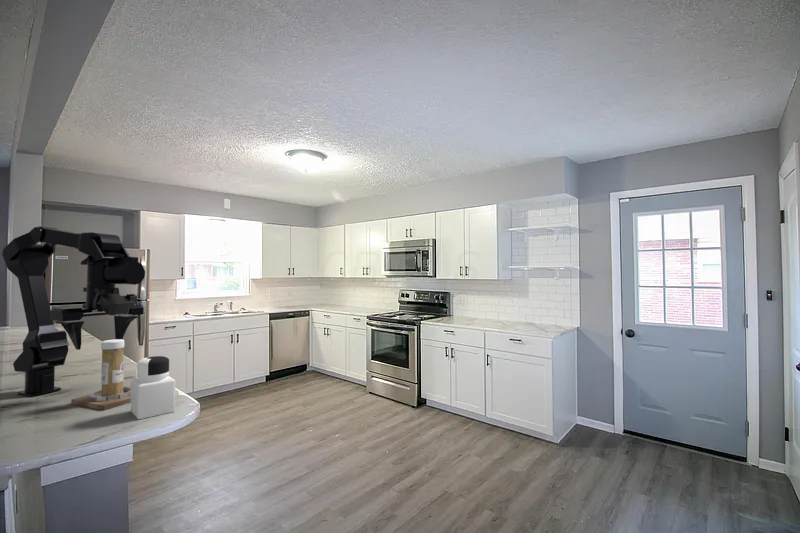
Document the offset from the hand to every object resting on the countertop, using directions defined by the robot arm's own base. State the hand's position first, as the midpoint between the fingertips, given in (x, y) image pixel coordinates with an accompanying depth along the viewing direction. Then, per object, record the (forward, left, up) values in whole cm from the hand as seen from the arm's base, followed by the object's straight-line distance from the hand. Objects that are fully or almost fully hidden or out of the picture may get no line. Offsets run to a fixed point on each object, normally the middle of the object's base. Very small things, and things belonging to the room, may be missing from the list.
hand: (99, 346), depth 98 cm
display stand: (+5, 0, -13) cm, 14 cm away
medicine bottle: (+22, -2, -13) cm, 26 cm away
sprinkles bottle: (+5, 0, -12) cm, 13 cm away
